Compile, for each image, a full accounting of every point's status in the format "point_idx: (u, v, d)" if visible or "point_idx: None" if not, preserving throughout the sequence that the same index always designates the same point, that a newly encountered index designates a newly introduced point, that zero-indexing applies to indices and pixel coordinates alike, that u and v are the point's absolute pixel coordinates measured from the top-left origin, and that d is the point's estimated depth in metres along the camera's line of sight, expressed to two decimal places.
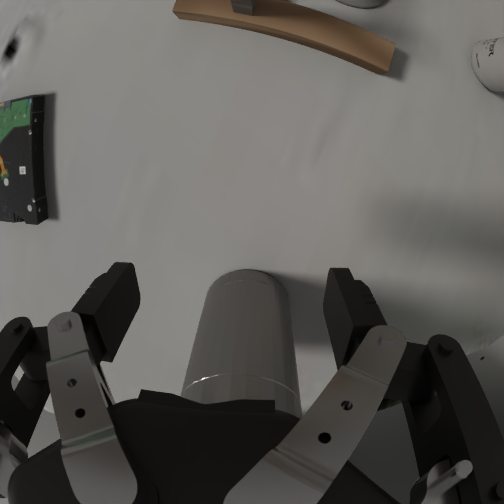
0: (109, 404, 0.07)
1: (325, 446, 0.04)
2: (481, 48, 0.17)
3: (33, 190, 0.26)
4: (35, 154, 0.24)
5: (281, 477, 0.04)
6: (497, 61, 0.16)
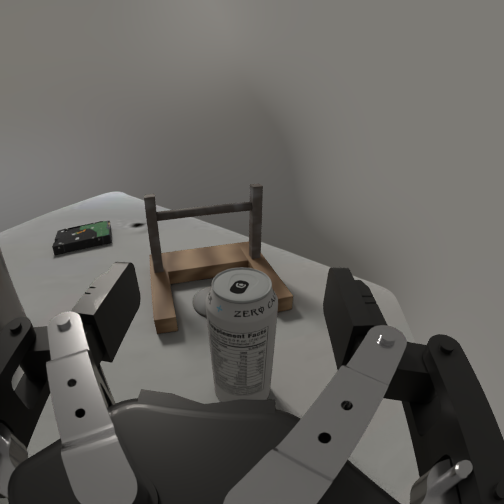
0: (109, 404, 0.07)
1: (325, 446, 0.04)
2: None
3: (67, 243, 0.59)
4: (83, 242, 0.60)
5: (281, 477, 0.04)
6: None
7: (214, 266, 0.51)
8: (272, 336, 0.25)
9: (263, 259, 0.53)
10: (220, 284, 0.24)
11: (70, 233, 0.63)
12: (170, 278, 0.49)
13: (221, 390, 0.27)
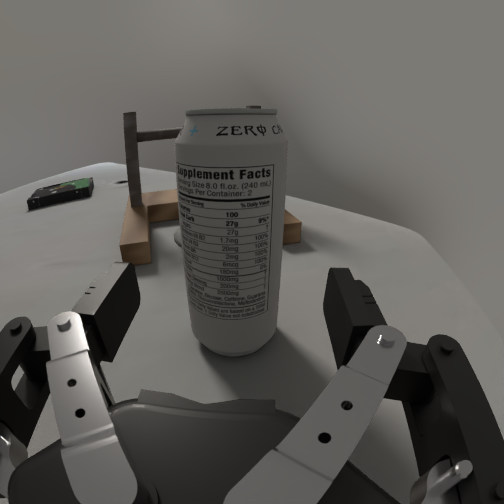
0: (109, 404, 0.07)
1: (325, 446, 0.04)
2: None
3: (43, 196, 0.49)
4: (60, 195, 0.51)
5: (281, 477, 0.04)
6: None
7: None
8: (280, 196, 0.15)
9: None
10: None
11: (48, 189, 0.54)
12: (150, 214, 0.40)
13: (199, 314, 0.18)
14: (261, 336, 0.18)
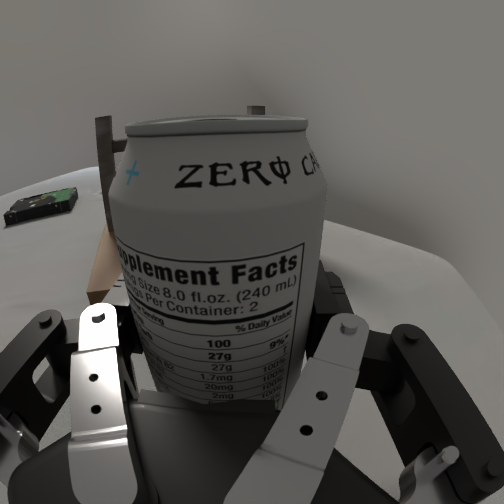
0: None
1: (325, 446, 0.04)
2: None
3: (20, 210, 0.42)
4: (38, 209, 0.43)
5: (281, 477, 0.04)
6: None
7: None
8: (311, 292, 0.08)
9: None
10: (153, 123, 0.07)
11: (28, 201, 0.47)
12: None
13: None
14: None
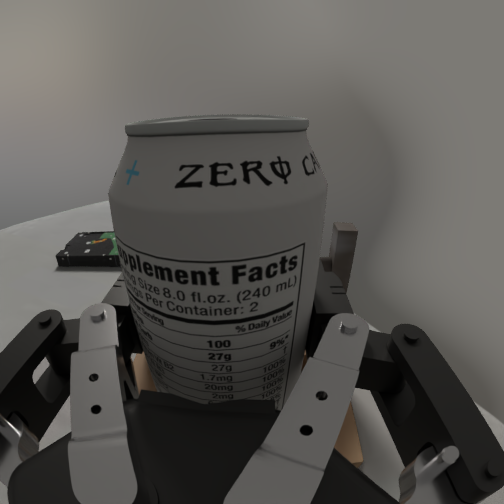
0: None
1: (325, 446, 0.04)
2: None
3: (73, 255, 0.46)
4: (91, 258, 0.46)
5: (281, 477, 0.04)
6: None
7: None
8: (311, 292, 0.08)
9: None
10: None
11: (86, 240, 0.51)
12: None
13: None
14: None
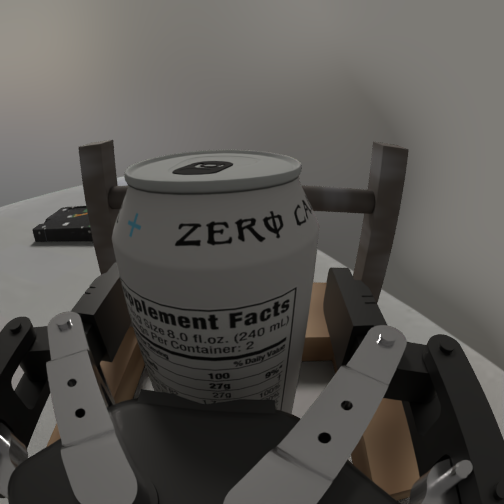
0: (109, 404, 0.07)
1: (325, 446, 0.04)
2: None
3: (49, 228, 0.38)
4: (69, 232, 0.38)
5: (281, 477, 0.04)
6: None
7: None
8: (303, 325, 0.09)
9: None
10: (151, 167, 0.08)
11: (68, 214, 0.43)
12: None
13: None
14: None
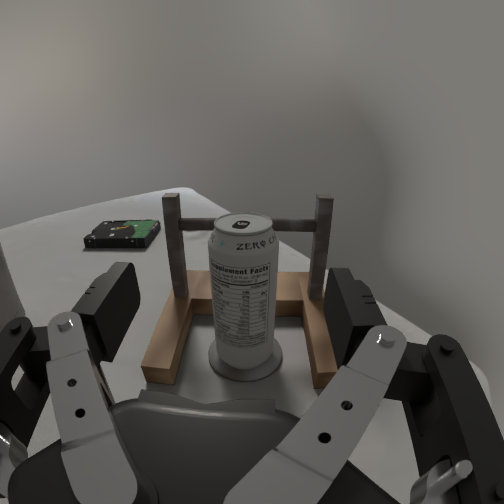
0: (109, 404, 0.07)
1: (325, 446, 0.04)
2: None
3: (99, 238, 0.55)
4: (115, 241, 0.55)
5: (281, 477, 0.04)
6: None
7: None
8: (274, 277, 0.26)
9: None
10: (222, 223, 0.25)
11: (110, 227, 0.60)
12: (194, 307, 0.38)
13: (223, 344, 0.28)
14: (263, 356, 0.29)
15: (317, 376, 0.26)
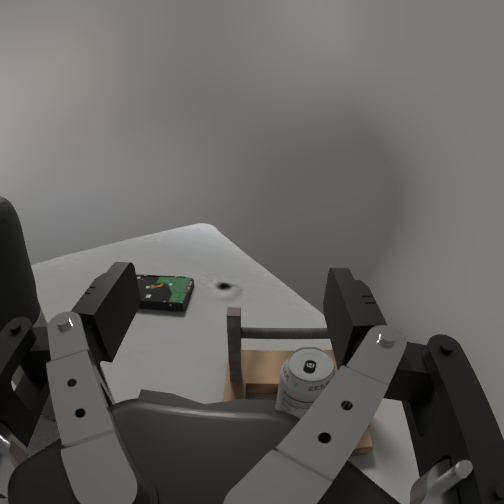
0: (109, 404, 0.07)
1: (325, 446, 0.04)
2: None
3: None
4: (153, 303, 0.60)
5: (281, 477, 0.04)
6: None
7: None
8: None
9: None
10: (294, 365, 0.29)
11: (145, 284, 0.65)
12: (247, 388, 0.42)
13: None
14: None
15: None
